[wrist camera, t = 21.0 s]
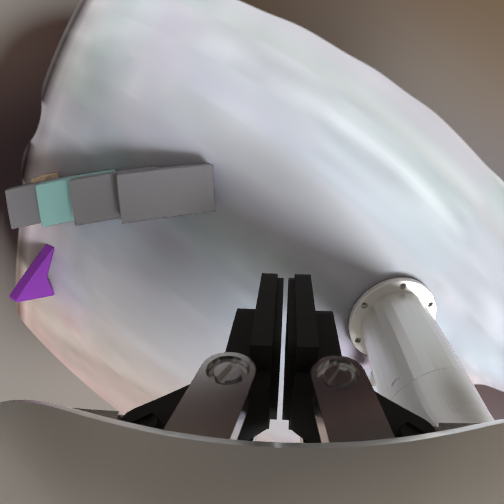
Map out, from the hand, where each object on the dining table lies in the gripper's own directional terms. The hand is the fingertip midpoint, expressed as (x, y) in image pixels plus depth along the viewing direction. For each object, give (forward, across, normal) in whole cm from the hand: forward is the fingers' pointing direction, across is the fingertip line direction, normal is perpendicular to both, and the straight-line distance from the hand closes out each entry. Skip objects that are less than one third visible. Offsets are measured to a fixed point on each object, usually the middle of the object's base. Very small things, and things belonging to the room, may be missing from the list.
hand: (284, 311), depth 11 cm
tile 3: (+24, +8, 0) cm, 25 cm away
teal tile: (+24, +20, 0) cm, 31 cm away
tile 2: (+24, +15, 0) cm, 28 cm away
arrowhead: (+25, +36, +12) cm, 46 cm away
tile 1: (+24, +26, 0) cm, 35 cm away
